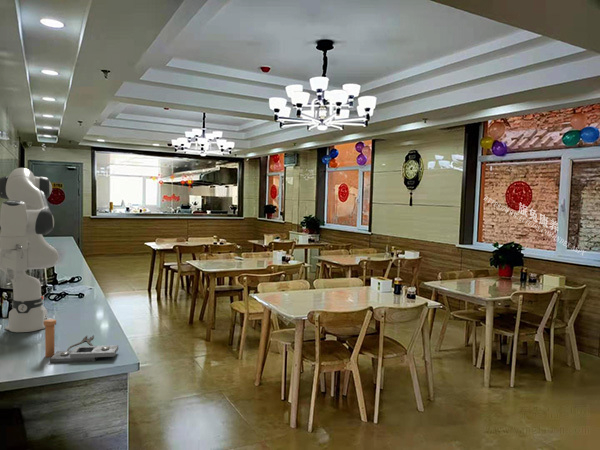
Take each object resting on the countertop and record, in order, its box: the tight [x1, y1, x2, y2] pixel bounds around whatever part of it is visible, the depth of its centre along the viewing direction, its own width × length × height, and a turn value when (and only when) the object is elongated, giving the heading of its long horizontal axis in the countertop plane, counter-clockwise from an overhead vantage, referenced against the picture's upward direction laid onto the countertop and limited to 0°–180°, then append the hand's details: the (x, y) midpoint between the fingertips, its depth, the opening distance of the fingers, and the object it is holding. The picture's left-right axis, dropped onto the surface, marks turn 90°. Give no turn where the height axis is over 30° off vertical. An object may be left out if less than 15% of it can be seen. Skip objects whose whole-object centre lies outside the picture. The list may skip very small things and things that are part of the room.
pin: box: [44, 318, 57, 358], centre depth 177 cm, size 4×4×14 cm
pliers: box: [66, 335, 95, 351], centre depth 193 cm, size 10×1×20 cm
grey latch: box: [49, 344, 119, 364], centre depth 177 cm, size 9×23×4 cm, turn 102°
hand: (14, 280), depth 168 cm, fingers open, 8 cm apart
